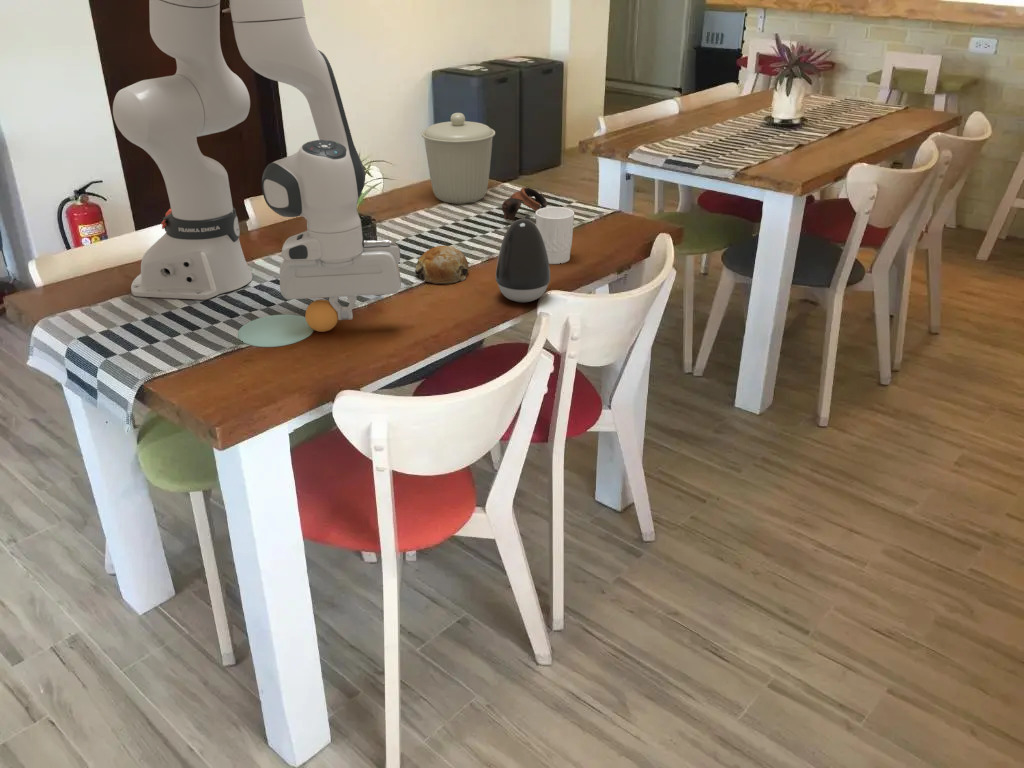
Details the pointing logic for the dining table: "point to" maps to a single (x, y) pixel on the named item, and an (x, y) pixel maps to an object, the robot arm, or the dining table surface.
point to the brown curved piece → (523, 195)
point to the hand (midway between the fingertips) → (345, 318)
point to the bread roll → (442, 265)
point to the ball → (321, 315)
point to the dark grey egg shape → (523, 262)
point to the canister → (459, 159)
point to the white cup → (556, 232)
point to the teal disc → (275, 331)
